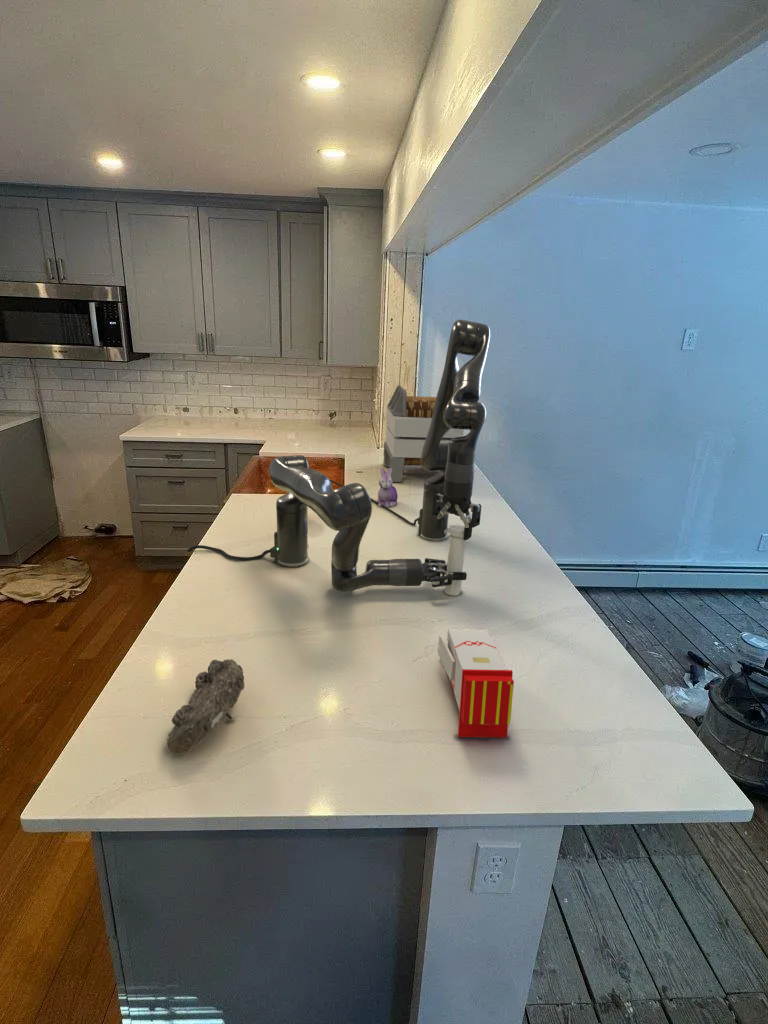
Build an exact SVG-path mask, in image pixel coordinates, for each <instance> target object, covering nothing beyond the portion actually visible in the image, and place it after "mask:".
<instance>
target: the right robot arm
mask: <svg viewBox="0 0 768 1024" xmlns="http://www.w3.org/2000/svg"><path fill="white" fill-rule="evenodd" d="M490 339H491V329H490V326H488V325H487V324H485V323H481V322H476V321H471V320H467V319H456V320H455V321H454V322H453V324H452V327H451V330H450V334H449V338H448V344H447V350H446V356H445V361H444V367H443V371H442V375H441V379H440V383H439V386H438V390H437V394H436V396H435V397H436V401H435V406H434V411H433V416H432V420H431V424H430V428H429V431H428V434H427V436H426V439H425V442H424V445H423V448H422V453H421V465H422V466H421V467H422V469H423V470H424V471H427V472H437V473H435V475H433V476H431V477H428V478H427V479H425V480H424V482H423V493H422V496H423V497H422V506H421V508H420V509H419V516H418V517H417V518H415V519H414V520H413V522H411V521H409V520H408V519H406V518H405V517H403V516H402V515H400V514H399V513H397V512H396V511H394V510H392V509H391V508H389V507H386V506H384V505H381V506H380V508H381V507H382V508H383V509H385V510H387V511H388V512H390V513H391V514H393V515H394V516H395V517H398V518H399V519H401V520H403V521H404V522H405V523H407V524H408V525H411V526H416V525H418V530H417V535H418V536H420V538H421V539H424V540H426V541H432V542H440V541H444V540H446V539H447V538H448V533H449V528H450V527H448V525H449V517H450V516H449V514H450V515H455V517H456V516H457V517H459V519H460V520H461V521H462V523H463V525H464V526H465V527H464V537H463V540H466V541H468V540H470V539H471V538H472V535H473V528H476V527H478V526H479V525H481V516H482V515H481V514H482V504H481V503H477V504H476V503H473V502H472V496H473V487H474V478H475V459H476V449H477V443H478V439H479V437H480V434H481V431H482V429H483V427H484V425H485V423H486V418H487V409H486V407H485V405H484V404H483V403H482V402H479V400H480V399H481V398H480V397H481V389H482V388H481V387H482V376H483V372H484V369H485V364H486V359H487V355H488V350H489V345H490ZM459 354H460V355H465V356H471V357H472V358H471V359H469V360H468V361H467V362H465V363H464V364H463V365H462V366H461V367H459V362H458V355H459ZM451 428H452V429H464V431H465V430H467V431H468V430H469V433H467V434H466V435H463V437H456V438H452V439H451V440H450V441H449V443H440V441H441V439H442V438H443V436H444V435H445V434H446V433H447V432H448V431H449V430H450V429H451ZM330 481H331V483H332V484H335V485H337V486H339V487H343V486H345V485H343V484H341V483H339V482H338V481H337V482H336V481H334V480H333V479H330ZM370 499H371V503H374V504H376V505H378V504H379V503H378V502H377V501H378V500H377V501H376V500H375V499H373V498H371V497H370Z"/></svg>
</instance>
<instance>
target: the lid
mask: <svg viewBox="0 0 768 1024" xmlns="http://www.w3.org/2000/svg"><path fill="white" fill-rule="evenodd" d="M464 527H465V525H464V524H459V523H456V524H451V525H449V527H448V528H449V531H448V533H449V535H450V534H451V535H453V536H458V537H463V536H464Z"/></svg>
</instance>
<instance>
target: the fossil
mask: <svg viewBox="0 0 768 1024" xmlns="http://www.w3.org/2000/svg"><path fill="white" fill-rule="evenodd" d="M243 670H244V669H243V667H242V665H240V664H237V662H236V661H235V660H234V659H232V658H231V659H227V658H226V659H224V660H223V661H222V660H217V659H212V660H211V661H210V663H209V665H208V666H207V671H201V672H199V673H198V674H197V675H196V676H195V680H194V684H195V685H194V687H195V689H194V690H193V693H192V694H191V697H190V698H189V700H188V704H184V705H182V706H181V707H180V709H177V710H176V711H175V713H174V715H173V716H172V718H171V723H172V724H173V727H172V730H171V731H170V732H168V734H167V738H166V741H167V742H166V745H167V749H168V750H169V751H173V752H174V753H176V754H178V753H182V752H188V751H189V752H192V751H193V750H195V748H196V747H197V746H199V744H200V743H201V742H203V741H204V740H205V739H206V738H207V737H208V736H209V735H210V734H211V733H212V732H214V730H215V729H217V727H218V726H219V724H220V722H221V721H222V720H223V719H224V718H225V716H226V717H227V719H229V720H233V717H232V715H230V714H229V710H230V709H231V708H234V706H235V704H236V703H237V702H238V699H239V697H240V695H241V693H242V691H243V690H245V689H244V688H245V675H244V671H243Z"/></svg>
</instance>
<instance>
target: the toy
mask: <svg viewBox="0 0 768 1024" xmlns="http://www.w3.org/2000/svg"><path fill="white" fill-rule="evenodd" d="M446 640H447V643H446V641H445V639H444V636H443V635H442V634H439V637H438V646H437V656H438V657H439V659H440V661H441V663H442V666H443V668H444V670H445V672H446V674H447V677H448V679H449V681H450V684H451V687H452V690H453V693H454V697H455V701H456V705H457V708H458V711H459V714H458V715H459V716H458V730H457V731H458V732H457V737H458V738H508V731H509V726H510V725H511V717H512V707H513V697H514V696H513V695H514V684H515V680H514V679H513V673H514V671H513V670H512V669H508V667H507V665H506V662H505V661H504V659H503V658H502V655H501V653H500V651H499V649H498V647H497V643H496V639H495V637H494V635H493V634H491V632H490V631H489V629H467V628H466V629H465V628H463V629H461V628H460V629H459V628H448V630H447V639H446Z"/></svg>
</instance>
